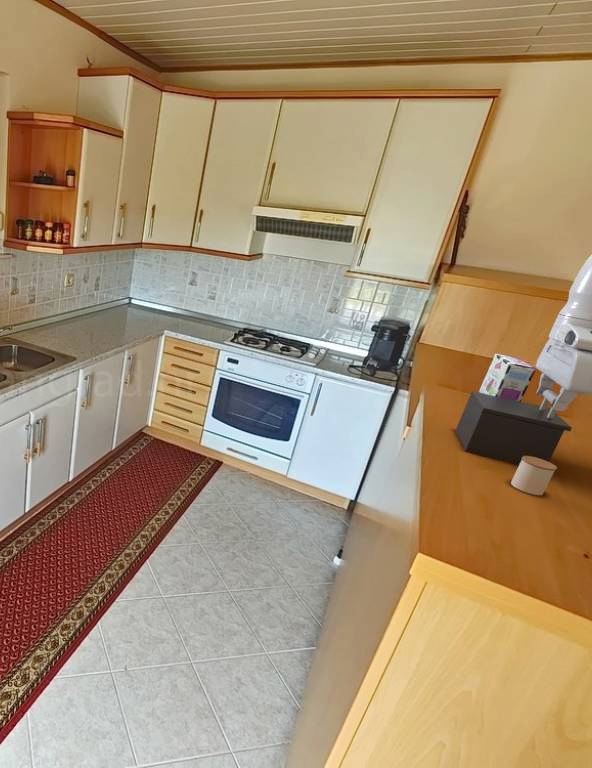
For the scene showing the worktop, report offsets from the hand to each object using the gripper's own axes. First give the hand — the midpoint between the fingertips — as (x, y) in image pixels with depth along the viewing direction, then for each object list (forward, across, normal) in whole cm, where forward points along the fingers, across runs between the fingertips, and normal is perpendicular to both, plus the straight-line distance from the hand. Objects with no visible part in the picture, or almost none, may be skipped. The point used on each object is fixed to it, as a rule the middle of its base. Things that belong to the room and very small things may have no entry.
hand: (549, 402), depth 96 cm
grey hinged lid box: (+12, 0, -4) cm, 13 cm away
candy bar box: (+12, -16, -4) cm, 20 cm away
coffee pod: (+12, +18, -3) cm, 22 cm away
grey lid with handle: (+3, 0, -4) cm, 5 cm away
